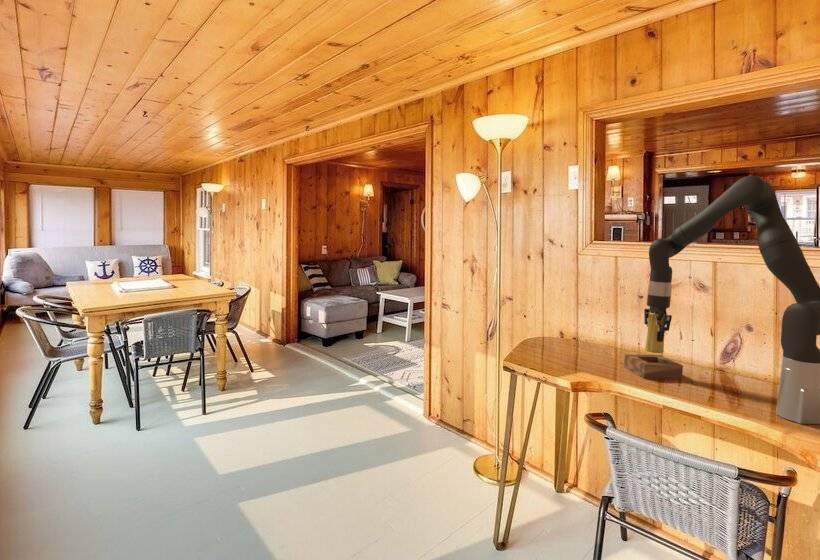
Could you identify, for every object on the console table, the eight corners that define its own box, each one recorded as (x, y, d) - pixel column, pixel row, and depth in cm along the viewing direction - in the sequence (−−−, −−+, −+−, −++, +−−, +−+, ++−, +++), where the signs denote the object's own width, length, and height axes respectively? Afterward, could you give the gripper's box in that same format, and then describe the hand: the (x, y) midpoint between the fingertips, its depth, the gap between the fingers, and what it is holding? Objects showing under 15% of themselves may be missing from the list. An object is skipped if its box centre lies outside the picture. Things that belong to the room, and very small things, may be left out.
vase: (665, 354, 170) (669, 315, 168) (647, 352, 171) (651, 314, 170) (660, 349, 176) (664, 312, 174) (642, 348, 177) (646, 311, 175)
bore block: (681, 379, 168) (683, 365, 167) (643, 378, 167) (644, 364, 167) (659, 367, 182) (660, 354, 181) (623, 366, 181) (624, 354, 180)
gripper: (681, 297, 164) (676, 344, 166) (658, 291, 178) (654, 335, 180) (660, 296, 164) (656, 344, 166) (638, 291, 178) (635, 334, 180)
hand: (655, 339), depth 173 cm, fingers closed on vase, 5 cm apart
